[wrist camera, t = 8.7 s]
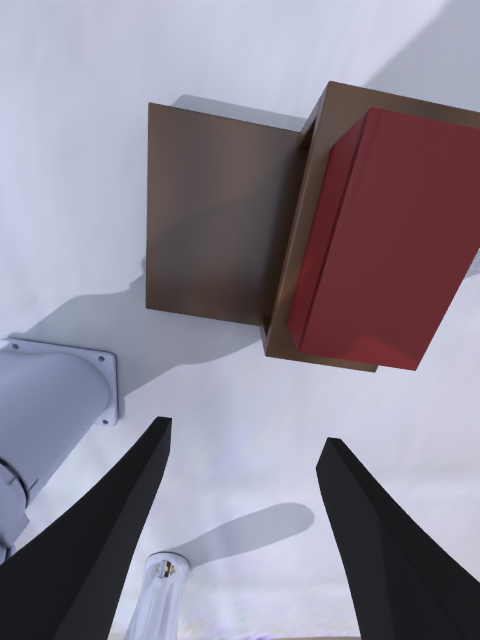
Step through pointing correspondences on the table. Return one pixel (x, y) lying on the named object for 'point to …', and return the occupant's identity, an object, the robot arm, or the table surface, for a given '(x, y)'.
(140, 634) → the beer glass
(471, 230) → the red hardcover book
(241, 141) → the book rack
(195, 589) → the table surface
